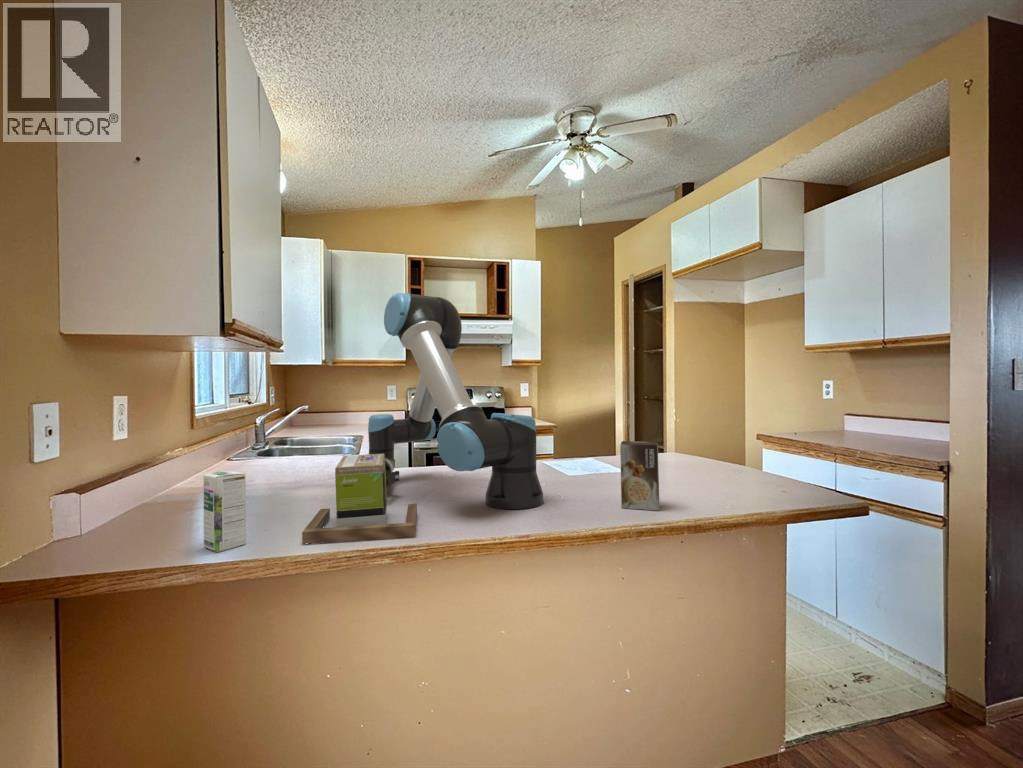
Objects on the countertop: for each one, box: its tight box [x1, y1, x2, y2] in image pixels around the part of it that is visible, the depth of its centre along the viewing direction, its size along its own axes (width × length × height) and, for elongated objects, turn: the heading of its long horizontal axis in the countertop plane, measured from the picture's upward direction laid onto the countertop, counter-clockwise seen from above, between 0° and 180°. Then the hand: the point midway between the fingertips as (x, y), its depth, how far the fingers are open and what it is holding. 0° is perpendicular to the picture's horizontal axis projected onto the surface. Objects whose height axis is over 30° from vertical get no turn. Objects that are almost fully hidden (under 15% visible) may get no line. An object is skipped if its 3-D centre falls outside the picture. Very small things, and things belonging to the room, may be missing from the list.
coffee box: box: [619, 440, 661, 512], centre depth 123 cm, size 9×6×16 cm
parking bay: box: [301, 503, 418, 545], centre depth 108 cm, size 22×18×2 cm
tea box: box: [334, 453, 388, 527], centre depth 111 cm, size 15×10×15 cm
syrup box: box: [203, 470, 247, 553], centre depth 98 cm, size 6×6×14 cm
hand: (368, 490), depth 119 cm, fingers closed
